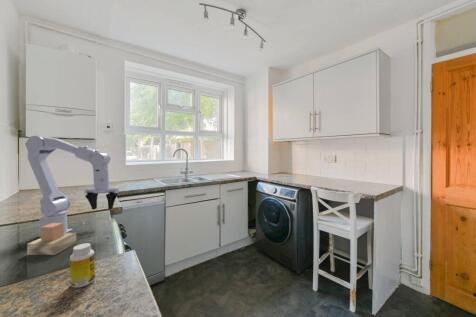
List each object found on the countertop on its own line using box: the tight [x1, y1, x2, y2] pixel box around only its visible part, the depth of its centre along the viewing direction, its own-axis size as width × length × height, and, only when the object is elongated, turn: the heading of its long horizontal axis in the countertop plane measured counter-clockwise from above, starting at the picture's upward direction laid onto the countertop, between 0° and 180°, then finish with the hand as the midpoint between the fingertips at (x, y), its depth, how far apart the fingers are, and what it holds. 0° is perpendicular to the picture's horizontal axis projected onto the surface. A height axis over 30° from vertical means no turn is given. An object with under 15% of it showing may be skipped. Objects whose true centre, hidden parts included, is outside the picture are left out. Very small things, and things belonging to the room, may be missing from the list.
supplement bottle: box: [69, 242, 96, 289], centre depth 59 cm, size 6×6×10 cm
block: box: [40, 223, 64, 241], centre depth 81 cm, size 5×5×5 cm
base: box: [26, 232, 77, 256], centre depth 81 cm, size 10×10×4 cm
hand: (102, 208), depth 98 cm, fingers open, 7 cm apart
